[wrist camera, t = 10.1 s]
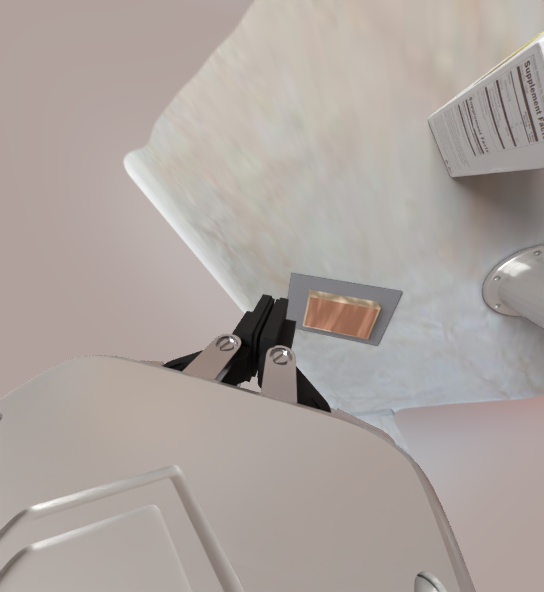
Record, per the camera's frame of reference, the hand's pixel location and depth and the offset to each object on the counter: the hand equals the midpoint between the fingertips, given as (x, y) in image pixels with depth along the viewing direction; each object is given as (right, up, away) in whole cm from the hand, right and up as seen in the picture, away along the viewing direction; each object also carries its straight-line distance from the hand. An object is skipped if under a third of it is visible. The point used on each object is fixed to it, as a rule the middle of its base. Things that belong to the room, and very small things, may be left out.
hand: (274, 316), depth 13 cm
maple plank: (+7, -1, +31) cm, 32 cm away
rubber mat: (+14, -2, +31) cm, 34 cm away
